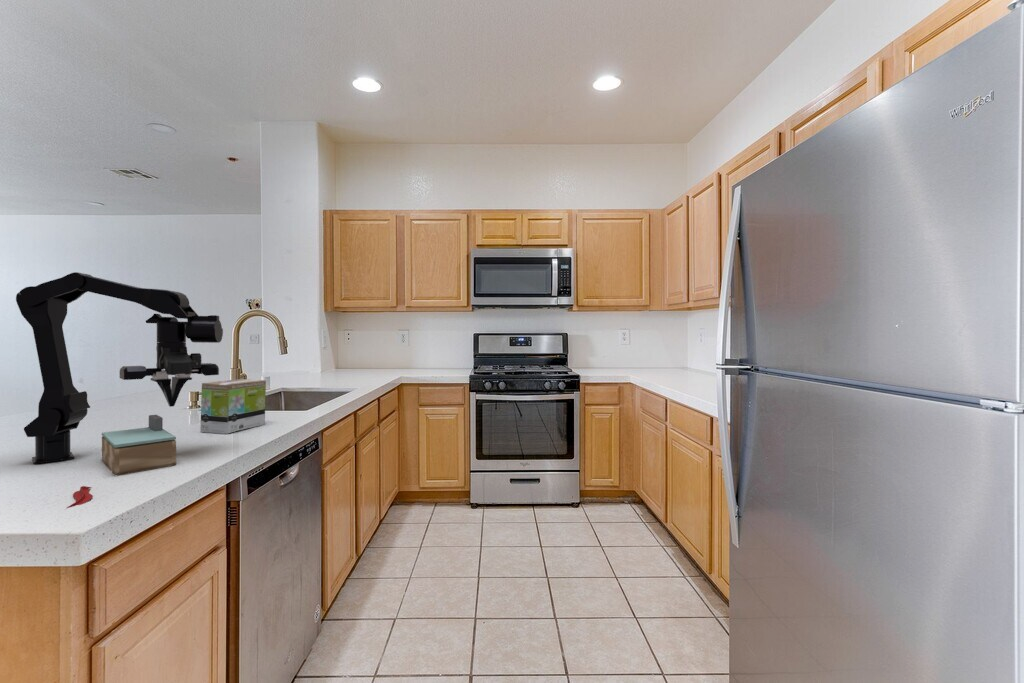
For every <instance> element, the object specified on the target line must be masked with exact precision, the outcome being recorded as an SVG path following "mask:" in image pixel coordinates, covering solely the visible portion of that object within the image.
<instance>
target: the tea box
mask: <svg viewBox="0 0 1024 683" xmlns="http://www.w3.org/2000/svg"><path fill="white" fill-rule="evenodd" d="M266 388H267V381H266V379H253V378H251V379H249V378H246V379H245V378H239V379H238V378H237V379H229V380H219V381H209V382H203V383H201V398H200V399H201V401H200V403H201V404H200V426H199V427H200V428H199V430H200V433H208V434H209V433H210V434H221V435H222V434H225V435H228V434H231V433H234V432H237V431H242V430H247V429H251V428H256V427H260V425H261V426H264V425H266V424H265V423H266V397H267V395H266V390H267V389H266Z"/></svg>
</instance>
